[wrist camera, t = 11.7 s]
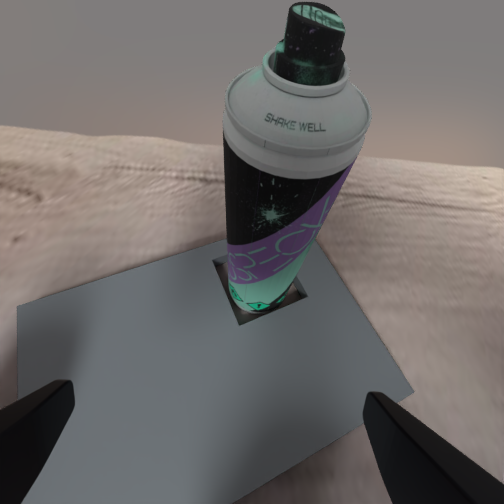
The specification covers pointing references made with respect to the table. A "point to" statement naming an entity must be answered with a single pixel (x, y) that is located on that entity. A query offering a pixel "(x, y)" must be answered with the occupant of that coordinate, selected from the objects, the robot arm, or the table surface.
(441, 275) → the table surface
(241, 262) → the spray can
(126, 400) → the hole board
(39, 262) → the table surface
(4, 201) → the table surface
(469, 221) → the table surface
